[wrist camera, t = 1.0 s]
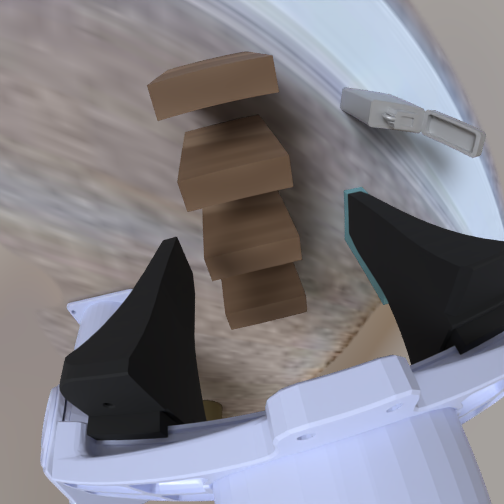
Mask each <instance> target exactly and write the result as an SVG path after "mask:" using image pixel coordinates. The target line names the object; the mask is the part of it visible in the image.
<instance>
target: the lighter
mask: <svg viewBox="0 0 504 504" xmlns="http://www.w3.org/2000/svg"><path fill="white" fill-rule="evenodd" d="M340 108H341V109H342V110H343V111H345V112H346V113H348V114H350V115H351V116H353V117H355V118H357V119H358V120H360V121H361V122H363V123H365V124H366V125H368V126H370V127H376V128H384V129H392V130H400V131H407V132H413V133H420V132H422V134H423V135H425V136H427V137H429V138H432V139H434V140H436V141H438V142H441V143H443V144H445V145H447V146H449V147H451V148H453V149H455V150H458V151H460V152H462V153H464V154H466V155H468V156H470V157H472V158H474V157H477V156H480V155H481V153H482V149H483V145H484V141H485V137H486V134H485V132H484V131H482V130H480V129H478V128H476V127H474V126H471V125H469V124H467V123H465V122H462V121H460V120H458V119H455V118H453V117H450V116H448V115H445V114H443V113H440V112H438V111H435V110H427V111H424V109H423V108H421V107H419V106H416V105H414V104H412V103H410V102H407V101H405V100H403V99H400V98H398V97H395V96H393V95H390V94H385V93H380V92H374V91H368V90H361V89H354V88H346V87H345V88H343V89H342V97H341V106H340Z"/></svg>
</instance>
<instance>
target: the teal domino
mask: <svg viewBox="0 0 504 504" xmlns="http://www.w3.org/2000/svg"><path fill="white" fill-rule="evenodd" d="M358 191H362V192H365V193H367V192H366V191H365V190H364V189H363V188H362V187H359V188H354V189H350V190H345V191H344V208H345V241H346V242H347V244H348V246H349V247H350V249H351V251H352V252H353V254H354V255H355V257H356V259H357V260H358V262H359V264H360V265H361V267H362V269H363V270H364V272H365V274H366V275H367V277H368V279H369V281H370V282H371V284H372V286H373V287H374V289H375V291H376V293H377V294H378V296H379V298H380V300H381V302H382V303H383V305H385V304H388V301H387V299H386V297H385V295H384V293H383V291H382V290H381V288H380V286H379V285H378V283H377V281H376V280H375V278H374V277H373V275H372V274H371V272H370V270H369V269H368V267H367V266H366V264H365V263H364V261H363V259H362V258H361V256H360V255H359V253H358V251H357V249H356V247H355V245H354V243H353V241H352V239H351V237H350V235H349V217H348V194H349V193H354V192H358ZM367 194H368V193H367Z"/></svg>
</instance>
